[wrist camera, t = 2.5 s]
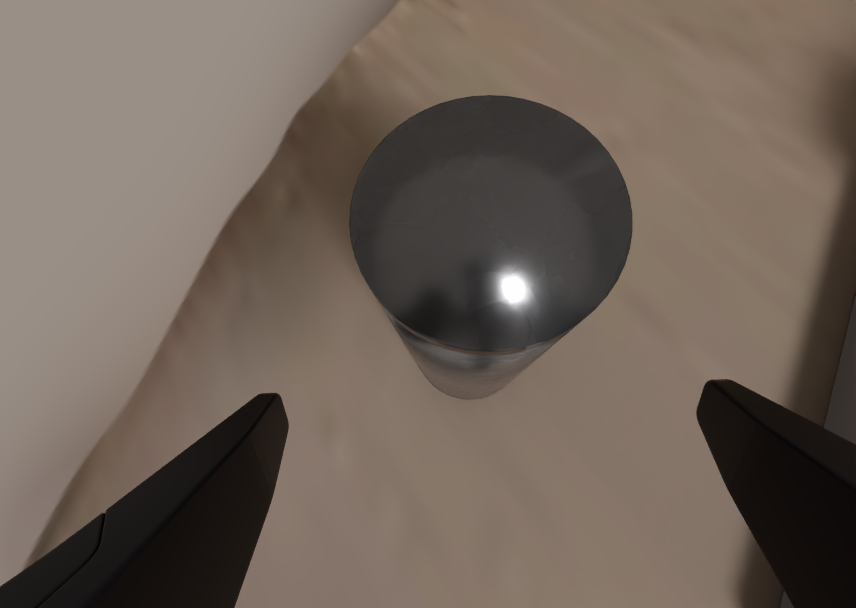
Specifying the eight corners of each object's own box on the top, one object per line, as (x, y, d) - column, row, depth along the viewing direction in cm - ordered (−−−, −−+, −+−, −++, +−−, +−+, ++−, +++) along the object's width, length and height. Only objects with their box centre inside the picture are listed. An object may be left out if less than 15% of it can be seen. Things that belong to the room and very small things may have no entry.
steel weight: (496, 418, 19) (571, 402, 7) (397, 370, 20) (299, 276, 8) (538, 319, 20) (670, 147, 8) (442, 278, 21) (423, 64, 9)
